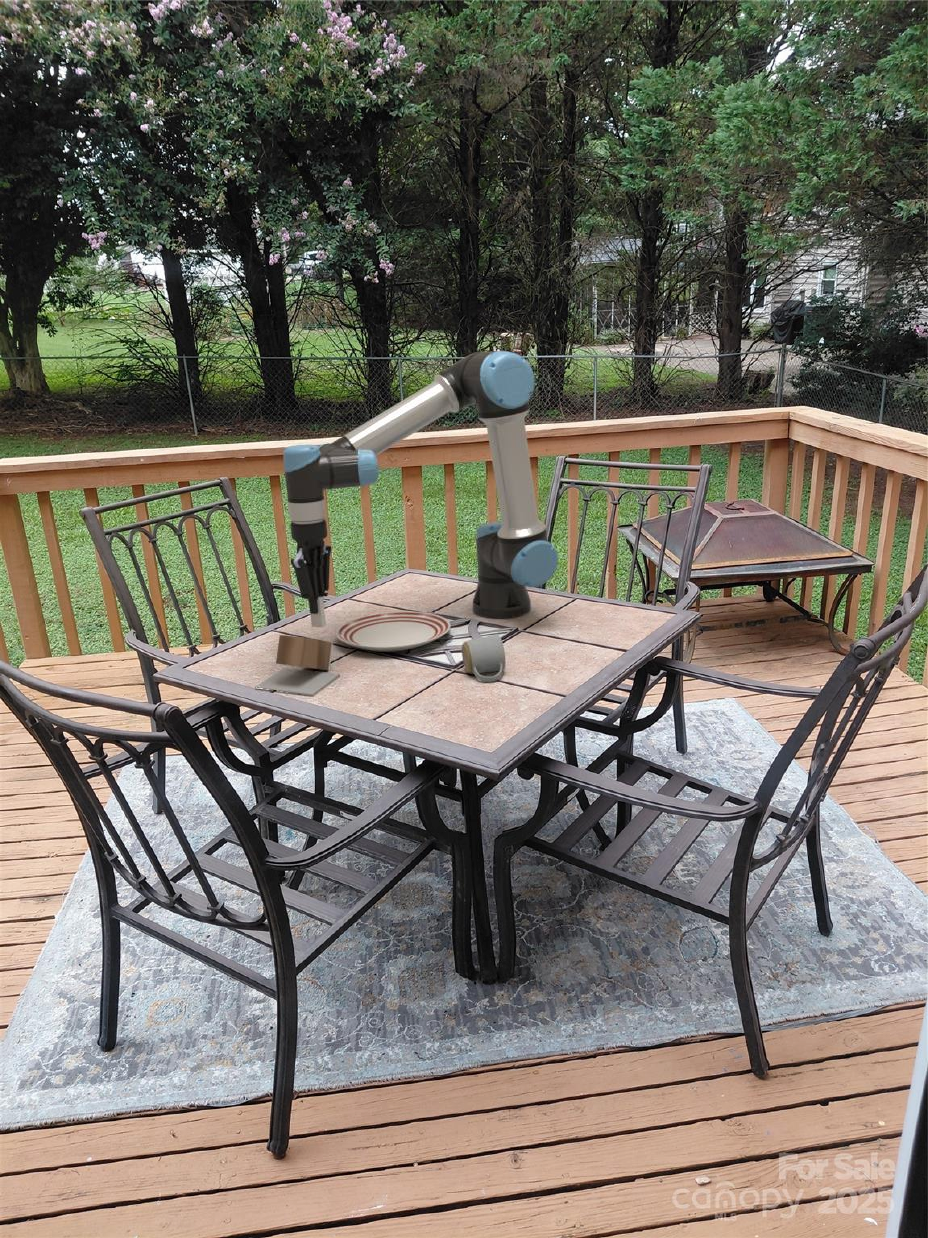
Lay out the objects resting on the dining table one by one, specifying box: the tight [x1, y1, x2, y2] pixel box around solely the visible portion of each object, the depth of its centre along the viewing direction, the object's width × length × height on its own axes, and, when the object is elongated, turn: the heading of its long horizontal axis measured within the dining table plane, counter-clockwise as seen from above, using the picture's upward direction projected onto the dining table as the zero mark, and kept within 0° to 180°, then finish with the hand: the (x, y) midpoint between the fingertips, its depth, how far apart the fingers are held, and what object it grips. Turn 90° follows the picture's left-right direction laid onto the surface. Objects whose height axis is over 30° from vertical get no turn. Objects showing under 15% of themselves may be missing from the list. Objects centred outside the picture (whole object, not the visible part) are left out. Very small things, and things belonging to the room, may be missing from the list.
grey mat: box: [255, 667, 340, 697], centre depth 177 cm, size 14×11×1 cm
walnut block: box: [275, 634, 334, 671], centre depth 179 cm, size 6×6×12 cm
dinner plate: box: [335, 610, 451, 653], centre depth 200 cm, size 27×27×3 cm
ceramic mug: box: [461, 634, 507, 683], centre depth 176 cm, size 11×8×8 cm
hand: (318, 625), depth 184 cm, fingers closed
